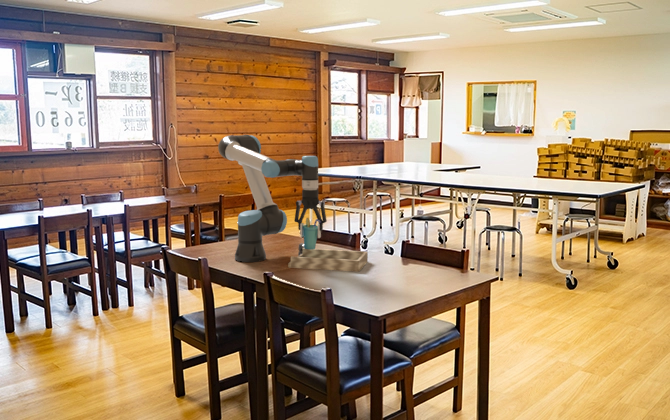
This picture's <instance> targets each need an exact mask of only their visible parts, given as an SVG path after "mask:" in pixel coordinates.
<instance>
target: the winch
mask: <svg viewBox="0 0 670 420" xmlns="http://www.w3.org/2000/svg"><path fill="white" fill-rule="evenodd" d="M303 248H304V242H300V243H299V244H298V255H297V257H298V256H299V255H300V254H303Z"/></svg>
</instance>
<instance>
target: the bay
mask: <svg viewBox="0 0 670 420" xmlns="http://www.w3.org/2000/svg"><path fill="white" fill-rule="evenodd" d="M368 254H369V252H368V251H361V250H360V251H359V250H345V249H344V250H341V249H327V248H326V249H324V248H315V249H305V248H303V254H300V255H299V256H298V255H297V256H290V261H289V262H288V263H287V265H288V266H287V267H288V269H289V268H292V269H293V268H294V269H307V270H324V271H325V270H326V271H341V272H356V273H357V272H358V273H359V272H361V270H362V269H363V268H364V267H365V266H366V264H367V263H368V262H369V261H368V260H369V259H368V258H369V257H368Z"/></svg>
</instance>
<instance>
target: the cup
mask: <svg viewBox="0 0 670 420" xmlns="http://www.w3.org/2000/svg"><path fill="white" fill-rule="evenodd" d="M317 222H318V224H319V223H321V221H320V220H318V219H317V218H316V219H315V221H314V224H311V221H310V218H309V217H306V218H305V224H304V225H303V230H304V236H303V245H304V248H305V249H316V246H317V245H316V244H317V240H318V225H317Z"/></svg>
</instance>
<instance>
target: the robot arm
mask: <svg viewBox="0 0 670 420" xmlns="http://www.w3.org/2000/svg"><path fill="white" fill-rule="evenodd" d="M260 142H261V141H260V140H259V139H258V138H257V136H254V135H252V134H250V135H249V134H243V135H239V134H238V135H226V136H224V137H222V138H221V139H220V141H219V143H218V145H217V149H218V153H219V155H220V156H221V157H222V158H224V159H226V160H229V161H236V162H237V164H238V165H239V166H242V169H243V171H244V174H245V178H246V181H247V183H248V186H249V189H250V192H251V195H252V198H253V199H254V203H255V206H256V209H252V210H245V211H242V212H240V213H239V214H238V216H237V222H236V223H237V247H236V250H235V254H234V260H235V261H236V260H237V261H236V262H240V261H242V263H256V262H263V261H265V260H266V259H267V253H266V250H265V248H264V244H263V237H264V236H270V235H277V234H281V233H282V232H284V231H285V229H286V228H287V224H288V218H287V214H286V213H285V211H283V210H282V209H279V206H278V204H277V203H275V202H274V201H273V198H272V195H271V192H270V190H269V186H268V184H267V182H266V179H265V178H272V179H273V178H279V177H281V178H282V177H289V176H290V177H291V176H299V177H301V188H302V190H301V191H302V193H301V195H302V196H301V197H302V198H301V200H297V201H295V206H296V207H295V214H294V222H295V223H296V224H297V225H298V226H297V227H298V228H297V229H298V231H300V238H304V230H303V225H305V224H304V222H303V220H304V218H305V215H306V213H307V210H309V209H311V210H313V212H314V214H315V216H316V219H318V220H320V221H321V223H319V222H318V223H317V226H318V233H317V239H320V238H321V237H322V234H321V233H322V231H323V230H324V227H323V226H324V224H325V223H327V215H326V214H327V213H326V208H325V205H326V201H325V200H324V201H322V200H320V199H319V159H318V156H316V155H303V156H302V157H301V159H294V158H289V159H284V160H283V159H282V160H280V159H279V160H278V159H277V160H276V159H273V158H272V157H269V156H267V155H264V154H262V153H261V152H262V150H261V149H262V145H261V143H260ZM301 205H303V208H302V211H301ZM318 205H319V206H320V211H319V208H318ZM300 212H301V214H300ZM320 212H321V214H320Z"/></svg>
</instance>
